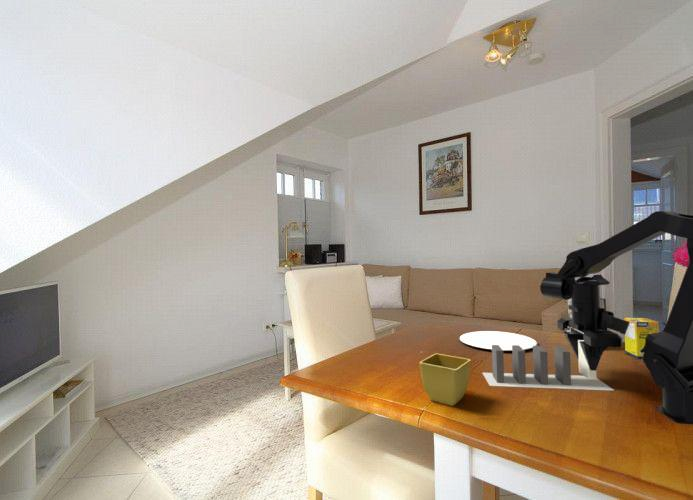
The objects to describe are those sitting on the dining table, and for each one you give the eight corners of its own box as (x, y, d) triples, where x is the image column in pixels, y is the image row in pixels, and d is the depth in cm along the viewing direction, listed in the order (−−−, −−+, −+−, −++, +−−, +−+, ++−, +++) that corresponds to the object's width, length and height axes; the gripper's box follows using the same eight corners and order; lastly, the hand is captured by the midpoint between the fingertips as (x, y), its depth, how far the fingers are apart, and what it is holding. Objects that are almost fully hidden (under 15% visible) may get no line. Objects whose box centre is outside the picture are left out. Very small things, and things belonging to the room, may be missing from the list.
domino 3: (548, 384, 84) (547, 351, 84) (541, 384, 84) (540, 351, 84) (540, 377, 89) (539, 345, 89) (533, 376, 89) (532, 345, 89)
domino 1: (504, 383, 86) (503, 350, 86) (497, 382, 86) (496, 350, 86) (499, 375, 91) (498, 345, 91) (492, 375, 91) (491, 344, 91)
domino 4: (571, 385, 83) (570, 352, 83) (563, 385, 84) (562, 351, 84) (562, 377, 88) (561, 346, 88) (555, 377, 88) (554, 346, 88)
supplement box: (660, 359, 100) (659, 321, 100) (636, 359, 102) (635, 321, 102) (647, 353, 106) (646, 317, 106) (624, 352, 107) (623, 317, 107)
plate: (445, 339, 131) (445, 334, 131) (500, 332, 138) (500, 328, 138) (492, 358, 107) (492, 353, 107) (555, 349, 114) (555, 344, 114)
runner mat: (614, 392, 80) (614, 390, 80) (489, 387, 85) (489, 385, 85) (594, 377, 89) (593, 376, 89) (482, 374, 94) (482, 372, 94)
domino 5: (596, 379, 82) (595, 345, 82) (588, 379, 83) (587, 345, 82) (585, 372, 87) (585, 340, 87) (578, 371, 87) (577, 340, 87)
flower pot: (436, 389, 84) (435, 352, 84) (472, 398, 79) (471, 358, 79) (419, 402, 78) (418, 362, 78) (457, 413, 72) (456, 370, 72)
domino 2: (526, 383, 85) (525, 351, 85) (518, 383, 85) (518, 351, 85) (519, 376, 90) (518, 345, 90) (513, 376, 90) (512, 345, 90)
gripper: (649, 309, 74) (651, 382, 74) (601, 296, 93) (603, 355, 93) (591, 309, 76) (593, 380, 76) (555, 297, 95) (557, 354, 95)
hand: (587, 366), depth 85 cm, fingers closed on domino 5, 5 cm apart
